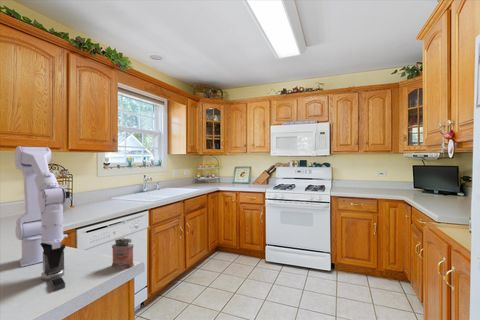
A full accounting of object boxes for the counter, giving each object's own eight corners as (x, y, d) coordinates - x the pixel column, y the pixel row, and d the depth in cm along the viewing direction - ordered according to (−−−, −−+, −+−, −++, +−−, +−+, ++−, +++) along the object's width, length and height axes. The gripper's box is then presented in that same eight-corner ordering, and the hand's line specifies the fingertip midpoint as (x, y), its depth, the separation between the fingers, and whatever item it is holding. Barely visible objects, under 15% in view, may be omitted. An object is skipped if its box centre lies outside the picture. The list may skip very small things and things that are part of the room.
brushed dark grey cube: (42, 269, 80) (42, 251, 80) (61, 264, 83) (61, 247, 83) (44, 274, 76) (44, 255, 76) (64, 269, 80) (64, 251, 80)
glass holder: (73, 210, 190) (73, 191, 190) (55, 214, 176) (55, 194, 176) (64, 210, 192) (64, 191, 192) (46, 214, 178) (46, 193, 178)
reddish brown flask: (109, 267, 86) (109, 239, 86) (116, 263, 89) (115, 236, 89) (130, 268, 84) (129, 240, 84) (135, 264, 88) (135, 237, 88)
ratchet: (40, 276, 80) (40, 264, 80) (62, 270, 84) (62, 258, 84) (46, 293, 69) (46, 279, 69) (71, 285, 73) (71, 272, 73)
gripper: (71, 225, 77) (72, 267, 77) (63, 218, 88) (63, 255, 88) (43, 230, 72) (44, 275, 72) (37, 222, 83) (38, 261, 83)
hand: (52, 265), depth 80 cm, fingers closed on brushed dark grey cube, 5 cm apart
